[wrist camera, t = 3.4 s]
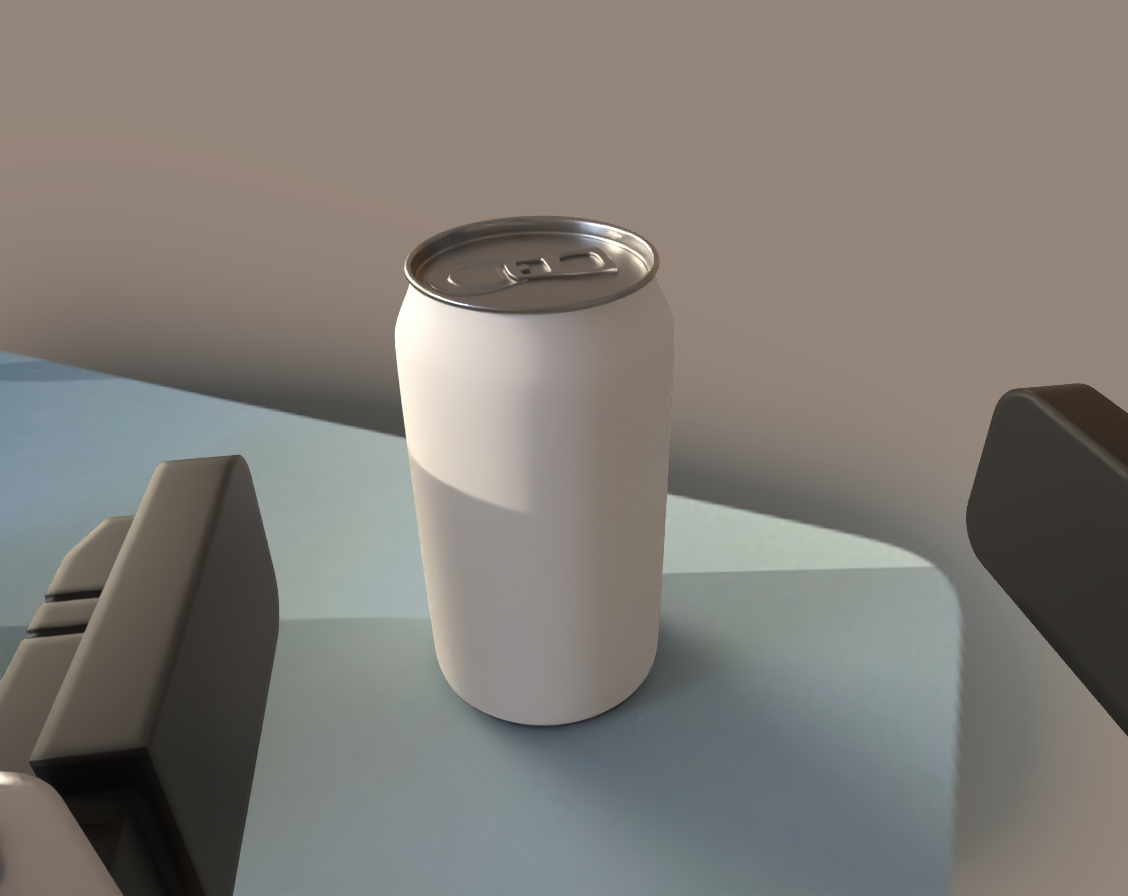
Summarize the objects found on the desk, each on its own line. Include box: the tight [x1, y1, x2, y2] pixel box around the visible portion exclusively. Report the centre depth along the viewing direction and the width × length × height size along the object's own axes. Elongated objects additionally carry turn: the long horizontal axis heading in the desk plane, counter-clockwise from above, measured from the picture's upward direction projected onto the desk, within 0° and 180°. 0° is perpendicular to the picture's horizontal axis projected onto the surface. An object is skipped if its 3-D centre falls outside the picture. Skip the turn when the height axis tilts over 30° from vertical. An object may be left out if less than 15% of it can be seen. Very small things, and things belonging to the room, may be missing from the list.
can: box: [395, 216, 674, 726], centre depth 23 cm, size 6×6×12 cm
